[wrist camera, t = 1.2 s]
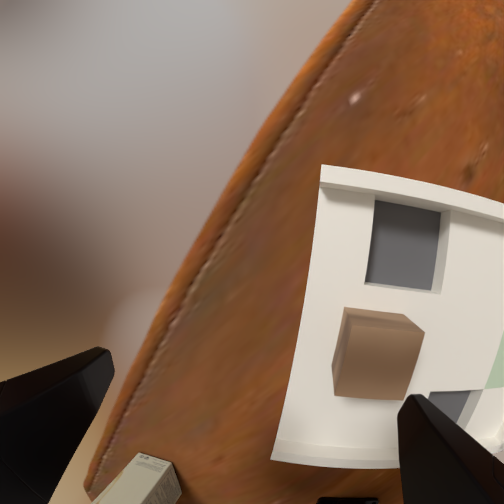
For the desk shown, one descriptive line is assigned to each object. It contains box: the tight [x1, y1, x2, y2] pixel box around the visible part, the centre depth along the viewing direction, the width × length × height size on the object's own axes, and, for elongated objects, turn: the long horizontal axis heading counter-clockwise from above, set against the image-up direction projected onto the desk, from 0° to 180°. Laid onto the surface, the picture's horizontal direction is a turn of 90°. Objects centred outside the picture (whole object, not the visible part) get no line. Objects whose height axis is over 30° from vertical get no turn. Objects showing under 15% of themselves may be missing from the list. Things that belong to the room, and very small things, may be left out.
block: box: [331, 307, 425, 401], centre depth 14 cm, size 4×4×4 cm
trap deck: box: [271, 165, 504, 469], centre depth 15 cm, size 20×22×4 cm
